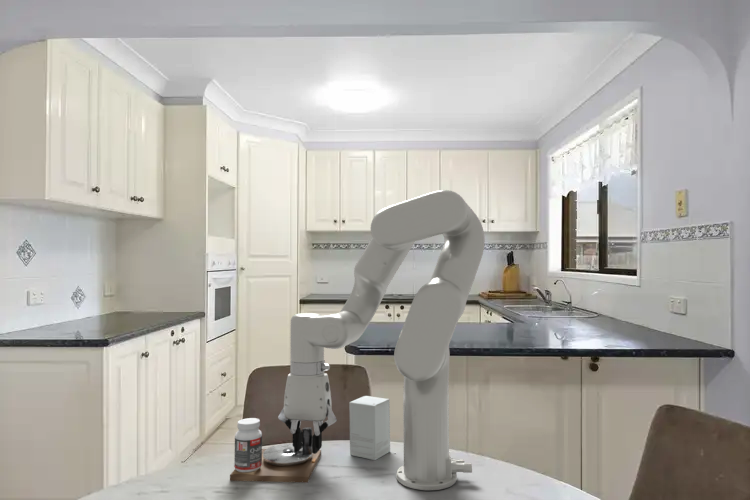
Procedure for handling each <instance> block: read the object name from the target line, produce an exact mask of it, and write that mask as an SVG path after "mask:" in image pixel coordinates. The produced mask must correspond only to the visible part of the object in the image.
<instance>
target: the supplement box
mask: <svg viewBox="0 0 750 500" xmlns="http://www.w3.org/2000/svg"><path fill="white" fill-rule="evenodd" d="M348 404H349V405H348V408H349V455H350V456H354V457H357V458H358V457H360V458H363V459H368V460H372V461H376V460H378V459H380V458H382V457H383V456H385V455H386V454H388V453H390V452H391V416H390V414H391V413H390V411H391V410H390V399H389V398H383V397H378V396H370V395H363V396H361V397H359V398H358V397H357V398H356V399H354V400H352V401H349V402H348Z"/></svg>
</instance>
